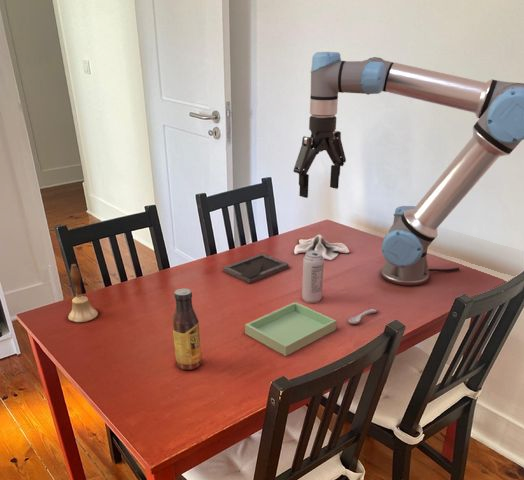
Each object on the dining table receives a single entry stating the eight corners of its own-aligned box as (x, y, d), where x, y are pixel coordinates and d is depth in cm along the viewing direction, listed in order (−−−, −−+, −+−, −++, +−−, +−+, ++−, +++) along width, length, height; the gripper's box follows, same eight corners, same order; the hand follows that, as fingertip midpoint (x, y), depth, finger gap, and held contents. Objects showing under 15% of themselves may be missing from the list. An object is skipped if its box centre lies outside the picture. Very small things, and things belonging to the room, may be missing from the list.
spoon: (345, 323, 149) (346, 317, 148) (369, 311, 157) (370, 305, 156) (354, 327, 147) (355, 320, 146) (378, 315, 155) (379, 309, 154)
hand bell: (89, 306, 159) (78, 256, 150) (103, 315, 154) (93, 264, 145) (63, 315, 154) (51, 264, 146) (77, 325, 149) (65, 273, 141)
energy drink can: (313, 293, 165) (315, 248, 157) (325, 301, 161) (328, 254, 153) (297, 298, 163) (299, 252, 155) (309, 306, 158) (311, 259, 150)
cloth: (356, 249, 196) (358, 233, 193) (327, 264, 184) (328, 248, 181) (308, 235, 209) (309, 220, 205) (278, 249, 197) (278, 233, 194)
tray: (295, 310, 156) (295, 301, 155) (335, 329, 146) (336, 320, 145) (245, 333, 145) (245, 324, 143) (285, 356, 135) (285, 346, 134)
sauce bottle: (197, 372, 129) (191, 299, 118) (173, 369, 130) (164, 297, 120) (205, 358, 135) (199, 287, 124) (181, 355, 136) (174, 285, 125)
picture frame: (249, 283, 172) (288, 268, 182) (249, 277, 171) (288, 262, 181) (223, 271, 180) (262, 257, 190) (223, 266, 179) (262, 252, 189)
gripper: (341, 109, 157) (336, 182, 168) (281, 119, 142) (280, 197, 154) (361, 112, 152) (355, 186, 163) (302, 122, 138) (299, 203, 149)
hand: (319, 192), depth 159 cm, fingers open, 13 cm apart
